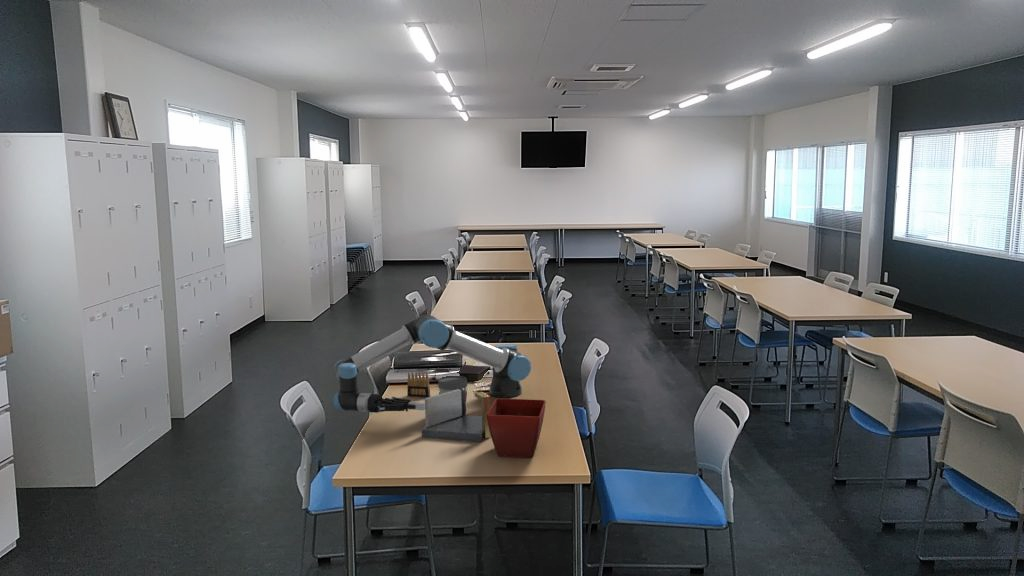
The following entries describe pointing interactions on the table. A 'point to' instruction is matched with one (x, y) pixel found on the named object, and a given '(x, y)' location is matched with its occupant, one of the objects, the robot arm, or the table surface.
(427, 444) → the table surface
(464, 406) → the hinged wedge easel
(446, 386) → the reusable coffee cup
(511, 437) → the plant pot
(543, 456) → the table surface
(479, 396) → the wooden l-shaped post
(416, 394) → the ammunition clip
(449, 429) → the dark grey flat slab
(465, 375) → the diary
